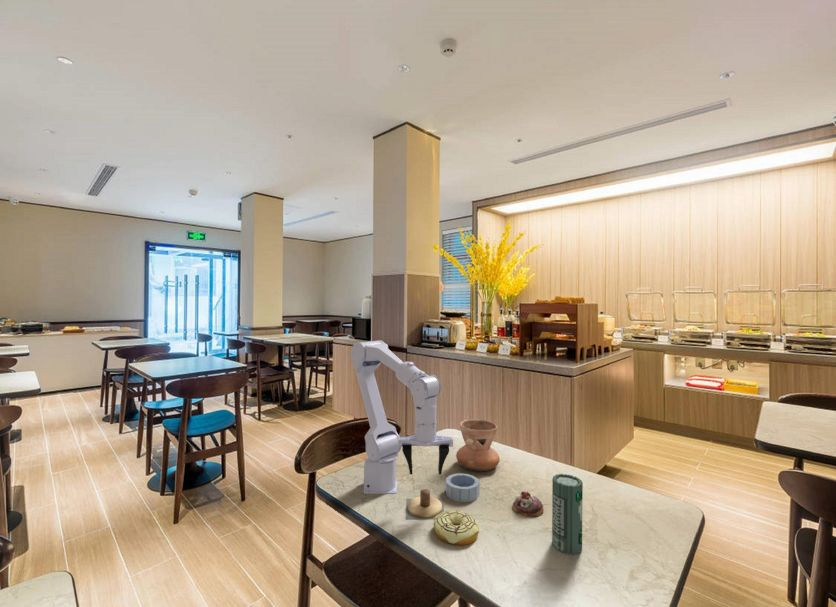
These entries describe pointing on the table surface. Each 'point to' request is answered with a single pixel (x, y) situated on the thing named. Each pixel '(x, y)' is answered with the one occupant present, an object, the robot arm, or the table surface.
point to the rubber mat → (410, 516)
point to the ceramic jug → (478, 445)
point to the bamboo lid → (425, 505)
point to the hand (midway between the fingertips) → (425, 472)
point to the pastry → (528, 505)
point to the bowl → (462, 487)
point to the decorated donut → (456, 527)
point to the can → (567, 513)
